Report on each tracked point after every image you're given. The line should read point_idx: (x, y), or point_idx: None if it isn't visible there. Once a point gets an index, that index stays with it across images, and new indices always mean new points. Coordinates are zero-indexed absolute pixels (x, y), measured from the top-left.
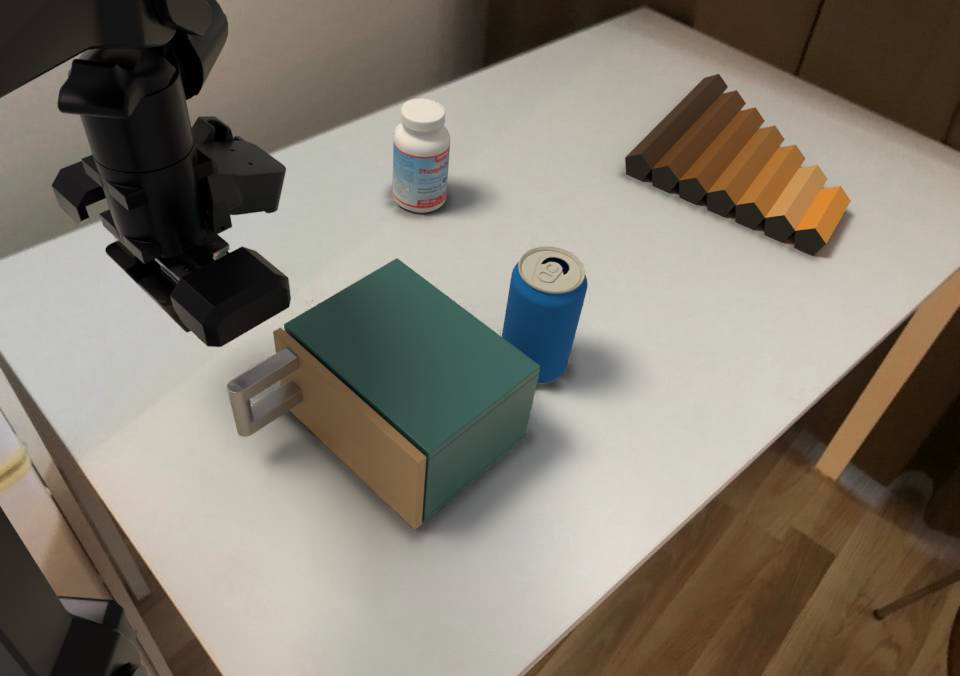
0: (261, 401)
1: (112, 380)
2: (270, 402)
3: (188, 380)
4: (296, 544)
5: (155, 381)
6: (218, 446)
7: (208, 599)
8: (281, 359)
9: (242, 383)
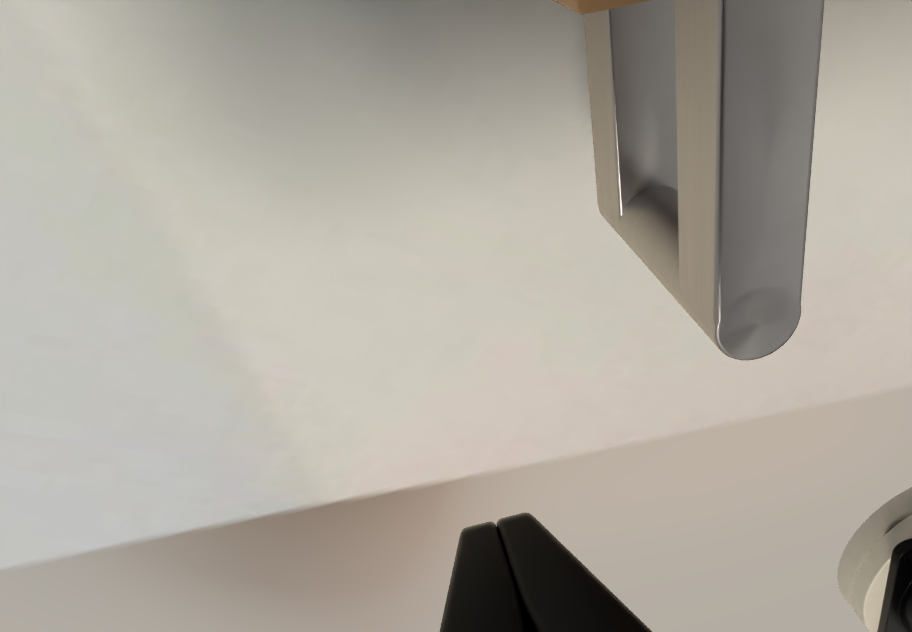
0: (625, 128)
1: (65, 401)
2: (653, 98)
3: (161, 205)
4: (885, 150)
5: (121, 297)
6: (479, 214)
7: (834, 365)
8: (778, 62)
9: (768, 299)
